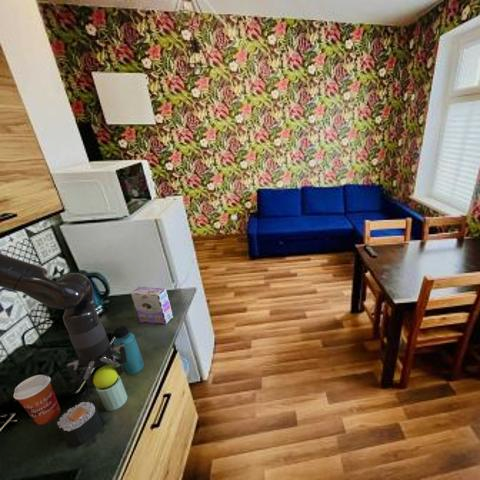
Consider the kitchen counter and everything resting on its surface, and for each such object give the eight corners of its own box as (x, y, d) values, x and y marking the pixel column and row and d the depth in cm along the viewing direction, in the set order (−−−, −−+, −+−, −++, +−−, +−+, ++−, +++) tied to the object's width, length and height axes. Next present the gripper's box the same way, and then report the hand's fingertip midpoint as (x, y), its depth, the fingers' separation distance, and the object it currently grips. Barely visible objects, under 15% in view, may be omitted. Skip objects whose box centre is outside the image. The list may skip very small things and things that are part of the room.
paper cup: (32, 434, 79) (11, 401, 73) (30, 416, 83) (11, 384, 78) (67, 414, 84) (50, 383, 79) (63, 399, 89) (47, 368, 83)
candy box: (174, 317, 128) (166, 288, 121) (166, 325, 122) (158, 295, 116) (147, 314, 129) (139, 285, 123) (138, 322, 124) (129, 292, 117)
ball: (92, 395, 81) (85, 380, 79) (101, 377, 87) (95, 363, 84) (116, 390, 83) (110, 375, 80) (124, 373, 89) (118, 359, 86)
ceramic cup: (101, 413, 85) (92, 393, 81) (109, 395, 90) (101, 376, 87) (123, 408, 86) (115, 388, 83) (130, 391, 92) (123, 372, 88)
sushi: (91, 413, 85) (83, 396, 81) (108, 424, 82) (100, 406, 78) (60, 438, 78) (50, 420, 75) (78, 451, 75) (68, 433, 72)
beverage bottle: (149, 365, 102) (136, 323, 94) (135, 380, 96) (120, 337, 88) (134, 362, 103) (120, 321, 95) (120, 377, 97) (103, 334, 89)
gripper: (119, 321, 84) (133, 360, 91) (58, 340, 76) (78, 382, 83) (120, 335, 79) (134, 376, 85) (54, 357, 71) (76, 400, 77)
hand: (106, 379), depth 84 cm, fingers closed on ball, 6 cm apart
